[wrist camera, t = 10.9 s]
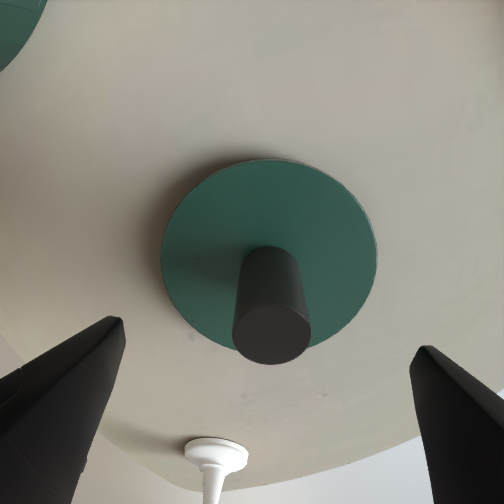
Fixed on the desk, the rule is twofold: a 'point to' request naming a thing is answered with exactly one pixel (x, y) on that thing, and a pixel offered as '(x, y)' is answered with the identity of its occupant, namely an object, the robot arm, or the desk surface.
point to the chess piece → (215, 463)
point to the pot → (17, 26)
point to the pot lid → (269, 258)
